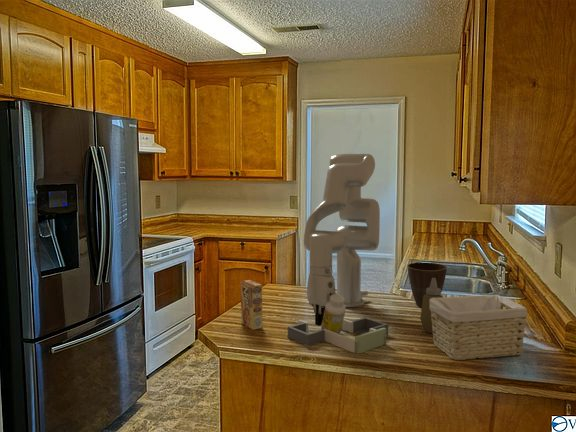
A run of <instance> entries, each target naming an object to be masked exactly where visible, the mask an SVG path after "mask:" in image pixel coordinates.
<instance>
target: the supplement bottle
mask: <svg viewBox="0 0 576 432" xmlns="http://www.w3.org/2000/svg"><path fill="white" fill-rule="evenodd" d="M344 300H345V299H344V297H343V296H341V295H338V294H337V293H336V294H333V295H331V296H330V301H329V302H327V303H326V306H325V311H324V315H323V320H322V325H320V326H321V328H320V330H322V329H327V330H330V331H332V332H335V333H338V334H340V335H341V332H342V324H343V319H345V315H346V314H345V313H346V309H347V307H345V305H344Z"/></svg>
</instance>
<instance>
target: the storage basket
mask: <svg viewBox="0 0 576 432" xmlns="http://www.w3.org/2000/svg"><path fill="white" fill-rule="evenodd" d="M429 302H430V306H429V308H430V310H431V317H432V331H433V333H432V339H433V340H432V341H433V345H435V346H436V348H438V349H439V348H440V349H439V350H440V351H441V352H442V353H444V352H445V353H446V355H447V356H448V357H449V358H450V359H453V360H456V361H458V360H459V361H465V360H472V359H473V360H474V359H476V358H479V359H486V358H499V357H509V356H519V355H520V356H521V355H522V354H523V345H524V338H525V328H526V324H527V316H528V309H527V307H526V306H523V305H522V304H519V303H518V302H515V301H513V300H511V299H508V298H506V297H503V296H502V295H499V294H492V295H491V294H490V295H489V294H488V295H487V294H486V295H470V296H469V295H467V296H449V297H446V296H445V297H444V296H443V298H431V299H430V300H429ZM445 353H444V354H445Z"/></svg>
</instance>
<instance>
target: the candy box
mask: <svg viewBox="0 0 576 432" xmlns="http://www.w3.org/2000/svg"><path fill="white" fill-rule="evenodd" d="M239 284H240V285H239V286H240V315H241V316H240V321H241V324H242V325H244V326H245V327H247V328H249V329H250V330H259V329H263V328H264V327H263V325H264V324H263V323H264V322H263V318H264V317H263V316H264V315H263V284H261V283H259V282H256V281H254V280H251V279H248V280H241V281H240V282H239Z"/></svg>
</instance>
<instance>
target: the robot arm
mask: <svg viewBox="0 0 576 432" xmlns="http://www.w3.org/2000/svg"><path fill="white" fill-rule="evenodd" d="M375 161H376V160H375V157H374V156H373V155H372V154H371V153H370V154H369V153H340V154H339V153H338V154H333V155H332V156H331V157H330V159H329V166H328V167H329V168H328V169H327V174H326V180H325V185H324V192H323V196H322V198H323V199H322V202H321V203H320V204H319V205H318V206H316V208H315V209H314V210H313V211H312V212H311V213H310V215H309V216H308V218H307V220H306V224H305V229H304V234H303V246H304V248H305V250H307V251H309V273H308V278H307V286H306V296H307V297H306V298H307V301H308V304H309V305H310V306H311V307H312V309H313V313H314V324H315V326H318V327H319V326H322V320H323V315H324V311H325V306H326V303H327V302H329V301H330V296H331V295H333V294H338V295H341V296H343V297H344V299H345V300H344V305H345V308H358V307H362V306H364V305H365V299H363V297H366V296H368V295H369V291H367V290H364V291H362V290H361V286H362V285H361V281H362V280H361V277H362V275H361V274H362V272H361V271H362V262H361V257H360V255H359V254H358V253H357V251H367V252H368V251H369V252H370V251H371V252H372V251H376V250H378V247H379V245H380V228H381V227H380V226H381V223H380V222H381V220H380V219H381V217H380V216H381V214H380V213H381V212H380V211H381V210H380V205H379V202H378V200H376V199H375V198H368V197H367V198H363V197H362V189H361V188H362V187H364V186H367V184H368V182H369V181H370V179H371V177H372V176H373V175H374V171H375V167H376V162H375ZM337 212H338V217H339V218H340V220H341V221H343V222H347V223H361V224H362V223H363V224H364V223H365V224H366V225H349V224H346V225H340V226H339V227H337V228H336V229H335V231H334V230H333V231H332V230H320V229H318V230H317V227H318V224H319V223H320V222H321V221H322V220H324V219H325V218H326V217H327V218H328V216H331V215H333V214H336V213H337ZM333 254H336V283H335V278H334V275H333V273H334V271H333Z"/></svg>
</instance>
